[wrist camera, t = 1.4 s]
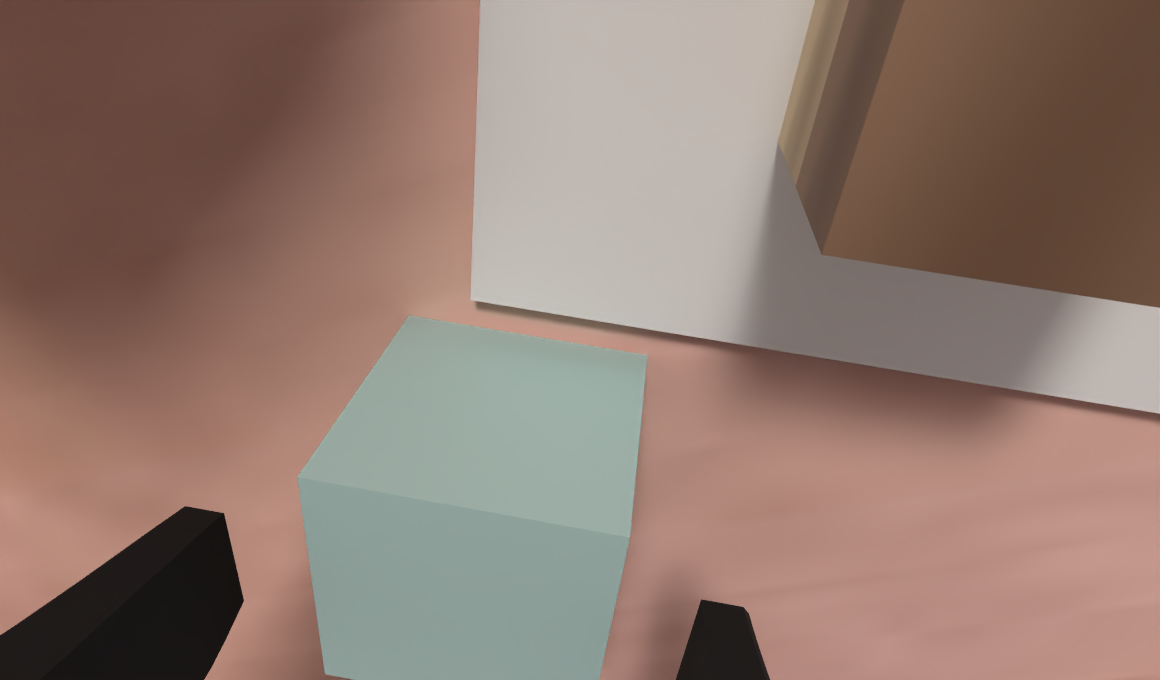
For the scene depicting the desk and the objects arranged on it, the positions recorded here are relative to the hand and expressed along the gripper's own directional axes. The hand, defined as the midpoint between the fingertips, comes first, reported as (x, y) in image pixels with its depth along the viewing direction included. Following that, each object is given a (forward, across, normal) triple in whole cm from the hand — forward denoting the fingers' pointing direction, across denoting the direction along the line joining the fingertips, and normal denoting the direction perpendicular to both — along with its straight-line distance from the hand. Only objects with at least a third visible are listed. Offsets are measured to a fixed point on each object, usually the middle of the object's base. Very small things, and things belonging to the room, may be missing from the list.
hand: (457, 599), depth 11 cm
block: (+4, 0, 0) cm, 4 cm away
